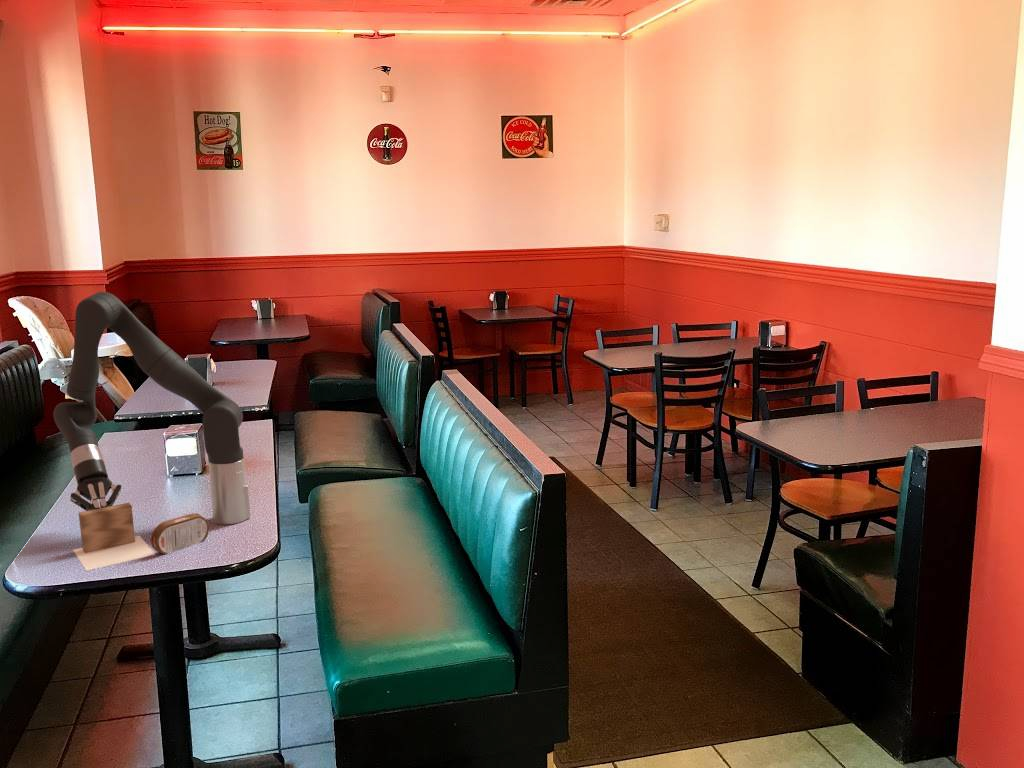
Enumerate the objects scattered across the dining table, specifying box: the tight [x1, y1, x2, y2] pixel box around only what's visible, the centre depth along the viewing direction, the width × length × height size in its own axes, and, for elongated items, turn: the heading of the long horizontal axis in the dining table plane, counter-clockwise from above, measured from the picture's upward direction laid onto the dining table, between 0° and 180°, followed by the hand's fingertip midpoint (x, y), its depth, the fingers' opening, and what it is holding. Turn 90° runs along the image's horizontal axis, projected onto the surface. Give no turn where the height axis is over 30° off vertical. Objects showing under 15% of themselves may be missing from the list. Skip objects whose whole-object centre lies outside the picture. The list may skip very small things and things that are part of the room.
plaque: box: [78, 502, 136, 553], centre depth 227 cm, size 12×3×10 cm, turn 126°
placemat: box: [72, 535, 156, 571], centre depth 224 cm, size 16×16×1 cm
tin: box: [150, 512, 210, 555], centre depth 226 cm, size 15×3×8 cm, turn 141°
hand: (103, 521), depth 230 cm, fingers closed
